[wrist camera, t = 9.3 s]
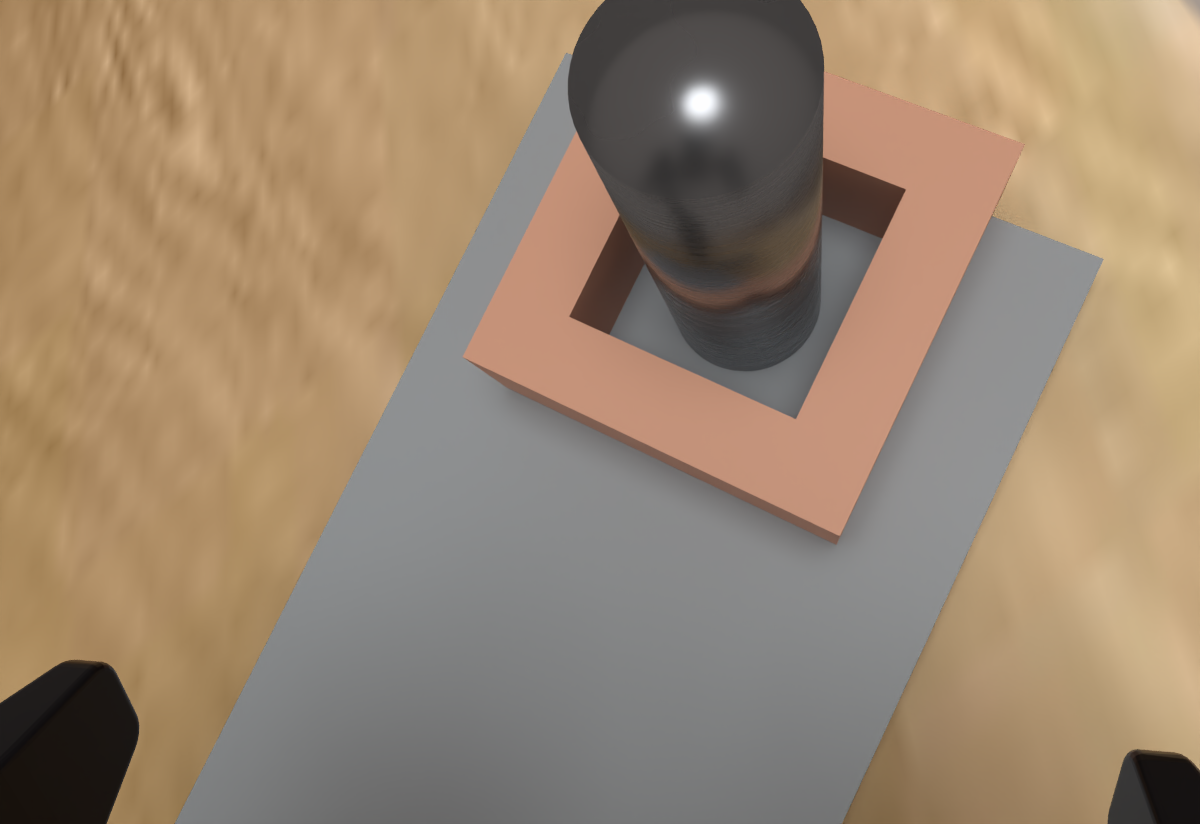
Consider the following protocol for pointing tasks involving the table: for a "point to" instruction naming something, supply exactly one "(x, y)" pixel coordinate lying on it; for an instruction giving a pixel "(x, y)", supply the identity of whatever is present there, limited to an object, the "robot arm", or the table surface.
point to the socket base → (657, 510)
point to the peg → (713, 162)
